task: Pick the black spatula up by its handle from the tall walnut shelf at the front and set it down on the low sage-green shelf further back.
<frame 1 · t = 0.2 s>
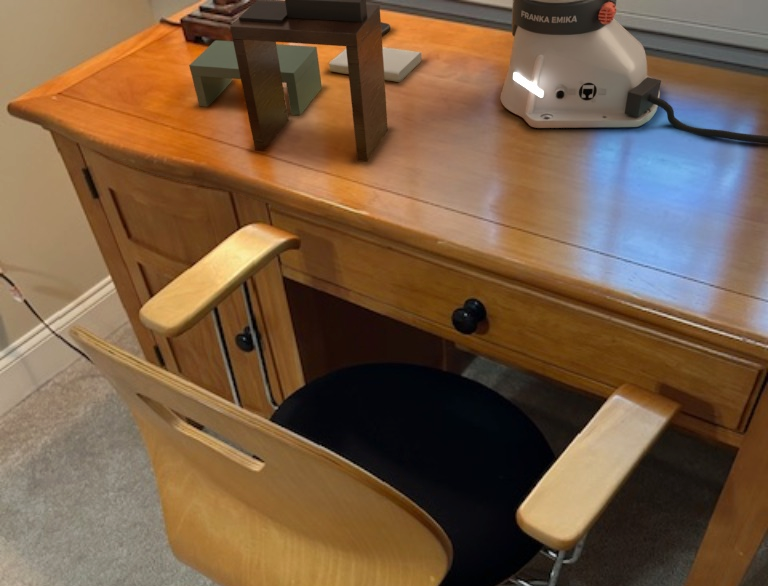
smartphone: (345, 30, 136), on the table
high shelf: (321, 140, 113), on the table
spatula: (327, 16, 99), point 16 cm above the table, touching high shelf
hard drive: (376, 68, 126), on the table
low shelf: (260, 97, 122), on the table
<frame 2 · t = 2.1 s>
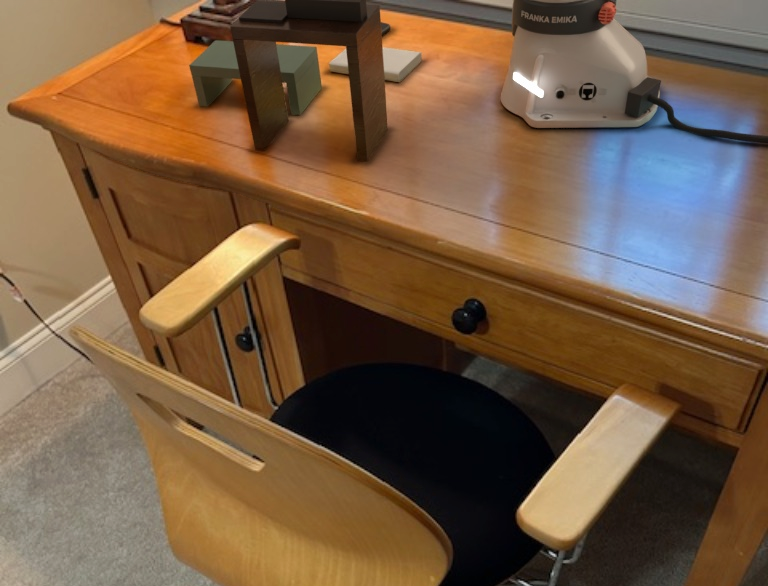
nothing on the table moved.
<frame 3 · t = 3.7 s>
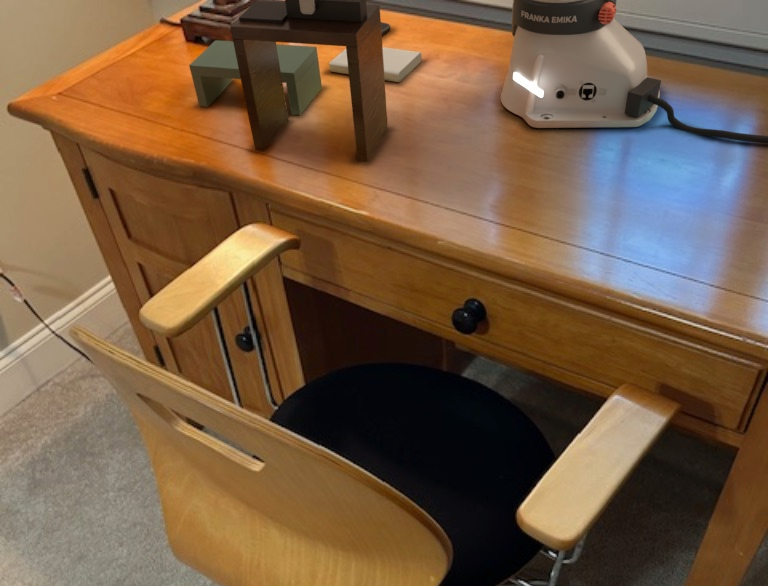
hand: (315, 6, 99), 17 cm above the table, tool pointing down, fingers closed on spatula, 2 cm apart
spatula: (327, 16, 99), point 16 cm above the table, touching gripper, high shelf
everything else where it was.
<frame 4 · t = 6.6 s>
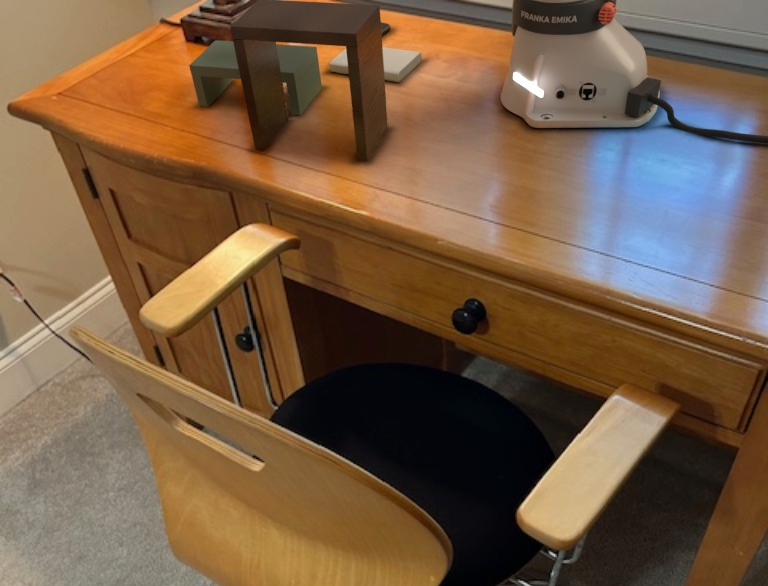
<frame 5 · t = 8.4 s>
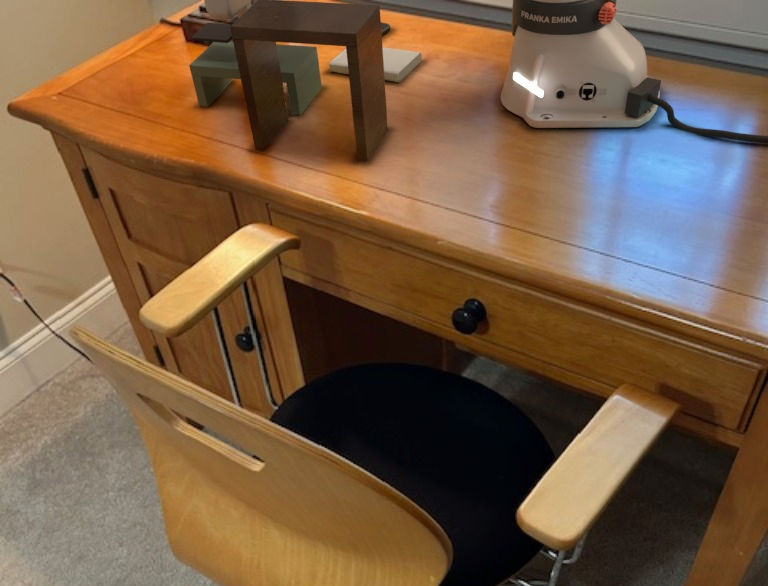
hand: (256, 28, 115), 10 cm above the table, tool pointing down, fingers closed on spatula, 2 cm apart
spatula: (266, 37, 115), point 9 cm above the table, touching gripper
everything else where it was.
when the fingers open (7 cm above the table, at t = 9.4 s): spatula stays where it is, resting on low shelf.
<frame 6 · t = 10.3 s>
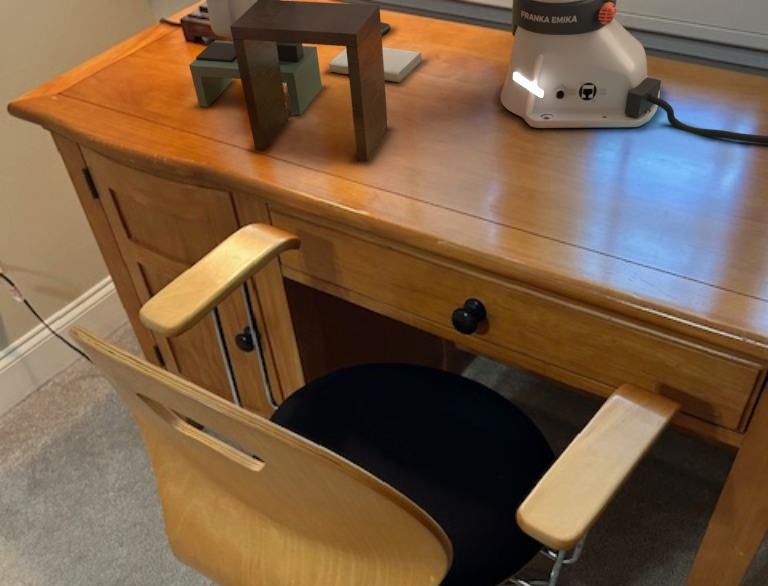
hand: (260, 45, 116), 8 cm above the table, tool pointing down, fingers open, 8 cm apart
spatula: (270, 57, 117), point 6 cm above the table, touching low shelf
everything else where it was.
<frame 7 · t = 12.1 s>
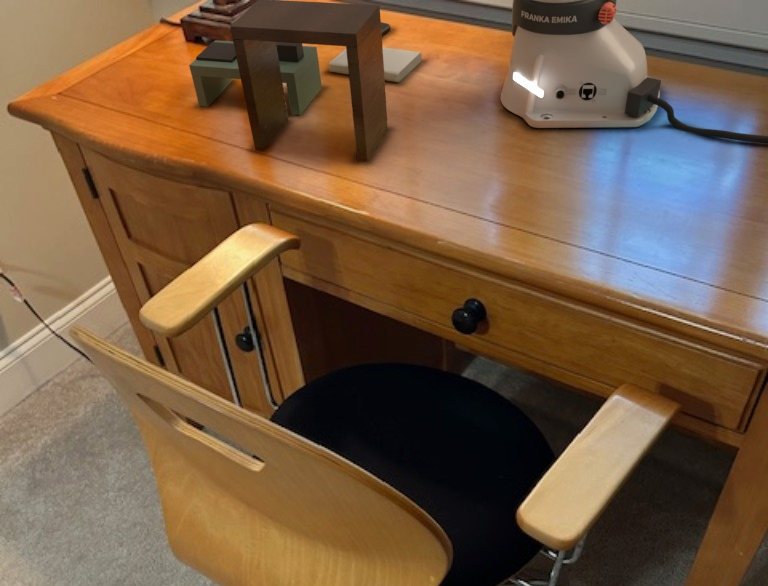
nothing on the table moved.
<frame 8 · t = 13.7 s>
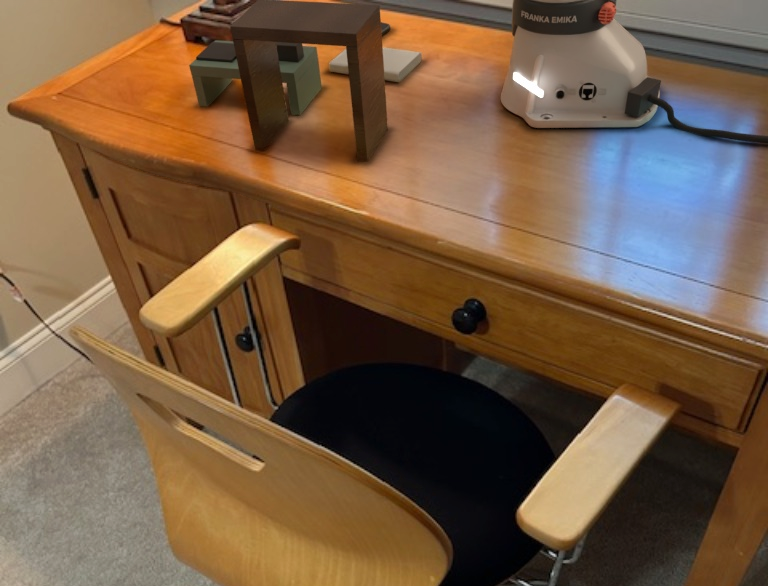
nothing on the table moved.
at the end: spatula inside the target area on the low shelf (0.2 cm from its centre), point 6.0 cm above the low shelf's base; the gripper is holding nothing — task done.
